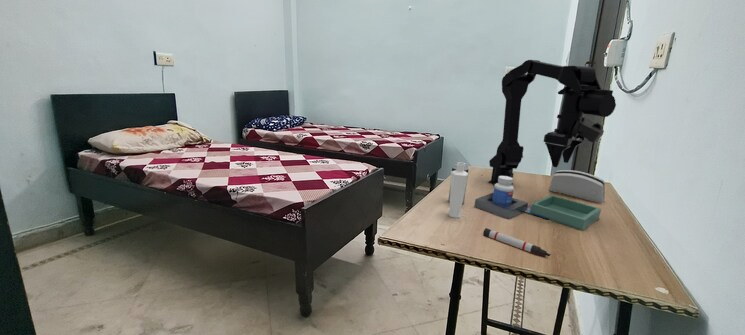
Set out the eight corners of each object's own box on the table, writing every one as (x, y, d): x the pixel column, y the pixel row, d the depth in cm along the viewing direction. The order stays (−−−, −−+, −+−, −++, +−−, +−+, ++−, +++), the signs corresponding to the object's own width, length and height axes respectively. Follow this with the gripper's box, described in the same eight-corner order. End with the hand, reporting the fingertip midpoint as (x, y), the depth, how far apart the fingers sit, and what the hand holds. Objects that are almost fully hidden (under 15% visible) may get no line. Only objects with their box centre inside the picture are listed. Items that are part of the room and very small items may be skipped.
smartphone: (509, 198, 112) (558, 213, 101) (509, 200, 112) (558, 215, 101) (498, 203, 107) (548, 219, 96) (498, 205, 107) (548, 221, 96)
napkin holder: (605, 199, 117) (610, 175, 112) (601, 207, 114) (607, 182, 109) (551, 187, 127) (554, 164, 122) (547, 194, 124) (550, 170, 119)
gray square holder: (474, 206, 103) (475, 199, 103) (493, 199, 111) (494, 192, 110) (509, 219, 96) (510, 210, 95) (526, 210, 103) (528, 202, 102)
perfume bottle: (453, 219, 93) (460, 166, 89) (443, 213, 97) (449, 162, 93) (466, 217, 95) (474, 164, 91) (456, 211, 99) (462, 160, 95)
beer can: (446, 203, 105) (451, 165, 102) (449, 198, 109) (454, 162, 106) (462, 206, 103) (467, 167, 100) (465, 201, 108) (469, 164, 105)
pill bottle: (508, 213, 100) (513, 181, 97) (489, 209, 102) (493, 177, 100) (511, 208, 104) (517, 177, 101) (493, 204, 107) (498, 173, 104)
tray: (529, 213, 101) (531, 203, 100) (549, 203, 110) (551, 194, 109) (582, 230, 91) (584, 220, 90) (598, 218, 100) (601, 208, 99)
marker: (482, 236, 85) (483, 229, 84) (486, 234, 86) (487, 227, 86) (548, 261, 75) (550, 253, 74) (551, 258, 76) (553, 250, 76)
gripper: (594, 117, 86) (580, 177, 91) (612, 114, 99) (600, 166, 103) (548, 112, 94) (537, 167, 98) (570, 109, 107) (560, 158, 111)
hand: (560, 164), depth 102 cm, fingers open, 9 cm apart
